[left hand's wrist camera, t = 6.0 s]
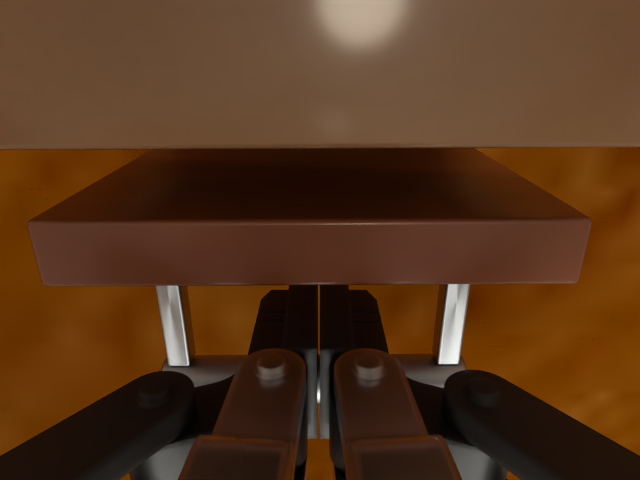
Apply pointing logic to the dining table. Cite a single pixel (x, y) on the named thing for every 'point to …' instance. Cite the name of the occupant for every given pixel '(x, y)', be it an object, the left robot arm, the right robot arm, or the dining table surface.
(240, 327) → the dining table surface
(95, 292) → the dining table surface
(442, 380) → the drawer
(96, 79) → the wooden drawer box
